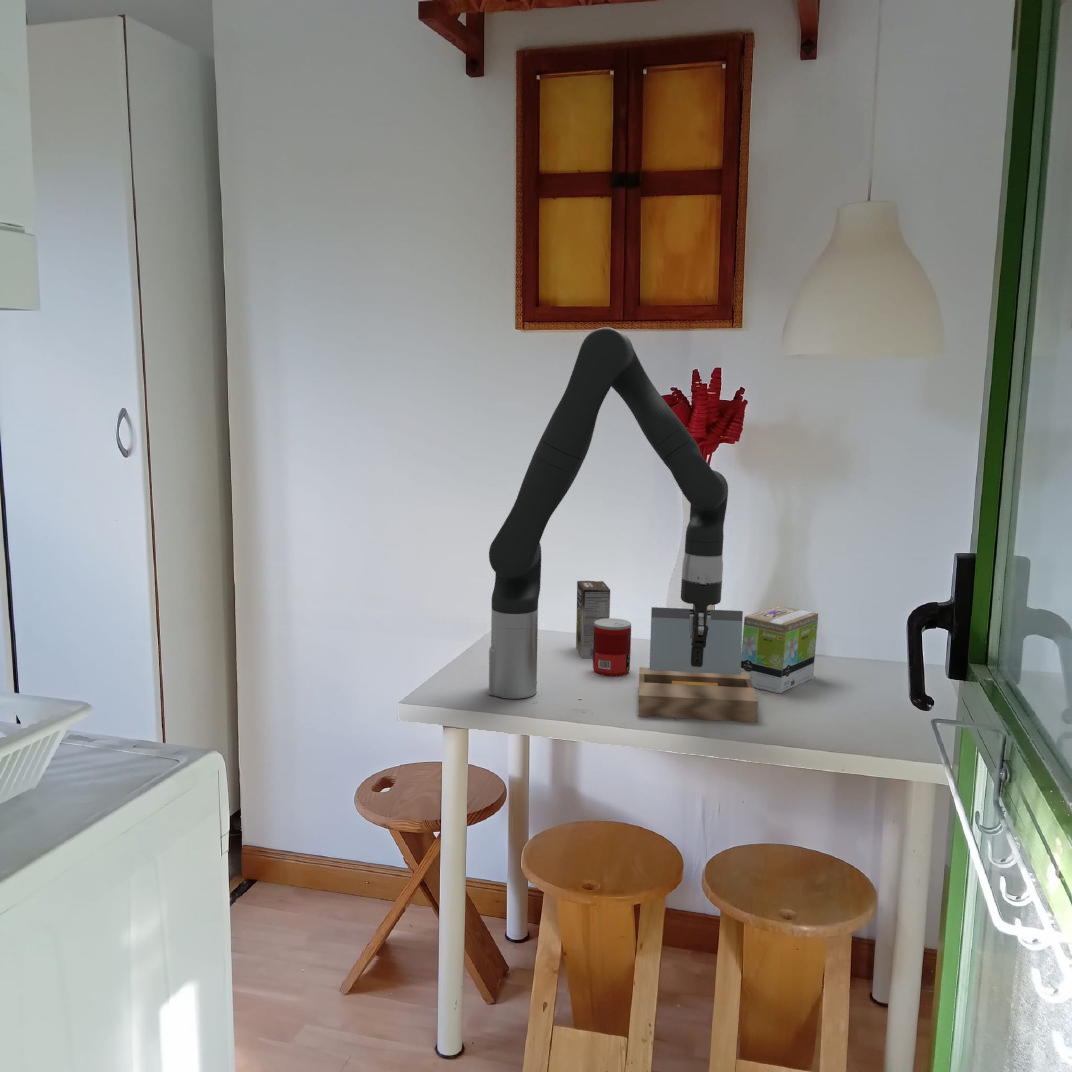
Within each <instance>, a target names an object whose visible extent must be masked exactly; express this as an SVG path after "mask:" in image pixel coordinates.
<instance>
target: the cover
mask: <svg viewBox="0 0 1072 1072" xmlns="http://www.w3.org/2000/svg"><path fill="white" fill-rule="evenodd" d="M689 609H690V608H685V607H684V608H679V607H678V608H677V607H660V606H659V607H657V606H653V607H651V614H650V615H651V617H650V644H649V645H650V646H649V648H650V649H649V668H650V669H649V670H655V671H676V672H697V673H718V674H739V675H741V654H742V642H743V621H744V620H743V616H744V615H743V614H744V611H743V610H733V609H731V610H728V609H708V608H707V610H710V613H711V621H710V623H709V630H708V637H707V639H706V646H705V648H704V651H703V665H702V667H693V666H691V643H690V641H691V638H690V632H689V623H690V621H689Z"/></svg>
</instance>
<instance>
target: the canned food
mask: <svg viewBox="0 0 1072 1072" xmlns="http://www.w3.org/2000/svg"><path fill="white" fill-rule="evenodd" d="M631 643H632V622H631V621H629V620H626V619H622V618H611V617H609V618H606V619H599V620H596V621H595V622H594V640H593V658H592V670H593V672H594V673H595V674H597V675H598V676H604V677H609V678H610V677H611V678H612V677H614V678H615V677H616V678H618V677H624V676H627V675H628V674H629V672H630V668H631V645H632V644H631Z"/></svg>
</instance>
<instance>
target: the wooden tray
mask: <svg viewBox="0 0 1072 1072" xmlns="http://www.w3.org/2000/svg"><path fill="white" fill-rule="evenodd" d="M649 669H650V667H639V671H638V672H639V673H638V704H637V705H638V707H637V709H638V710H637V716H638V717H653V718H654V717H657V718H658V717H659V718H671V719H672V718H674V719H676V718H677V719H693V720H695V719H696V720H709V721H710V720H712V721H713V720H714V721H715V720H716V721H728V722H729V721H730V722H731V721H732V722H750V723H757V722H758V713H759V712H758V710H759V709H758V708H759V699H758V697H757V693H756V691H755V689H754V688H755V687H753V685H752V682H751V679H750V676H749V673H747V672H741V675H739V674H718V673H697V672H676V671H655V670H649ZM672 681H687V682H707V683H718V686H705V685H684V684H672Z"/></svg>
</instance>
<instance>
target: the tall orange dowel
mask: <svg viewBox="0 0 1072 1072" xmlns="http://www.w3.org/2000/svg"><path fill="white" fill-rule="evenodd" d="M672 684H684V685H705V686H718V683H707V682H687V681H672Z"/></svg>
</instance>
